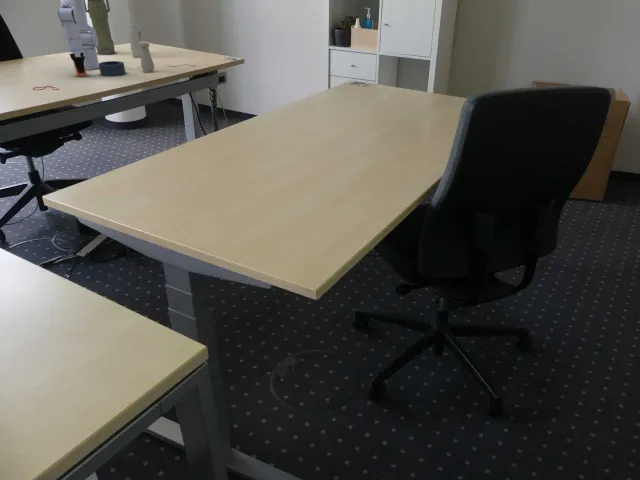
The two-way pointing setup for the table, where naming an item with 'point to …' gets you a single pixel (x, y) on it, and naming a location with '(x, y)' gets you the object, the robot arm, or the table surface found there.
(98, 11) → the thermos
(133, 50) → the energy drink can
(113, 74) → the dark blue bowl
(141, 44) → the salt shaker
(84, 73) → the shaker
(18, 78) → the table surface
